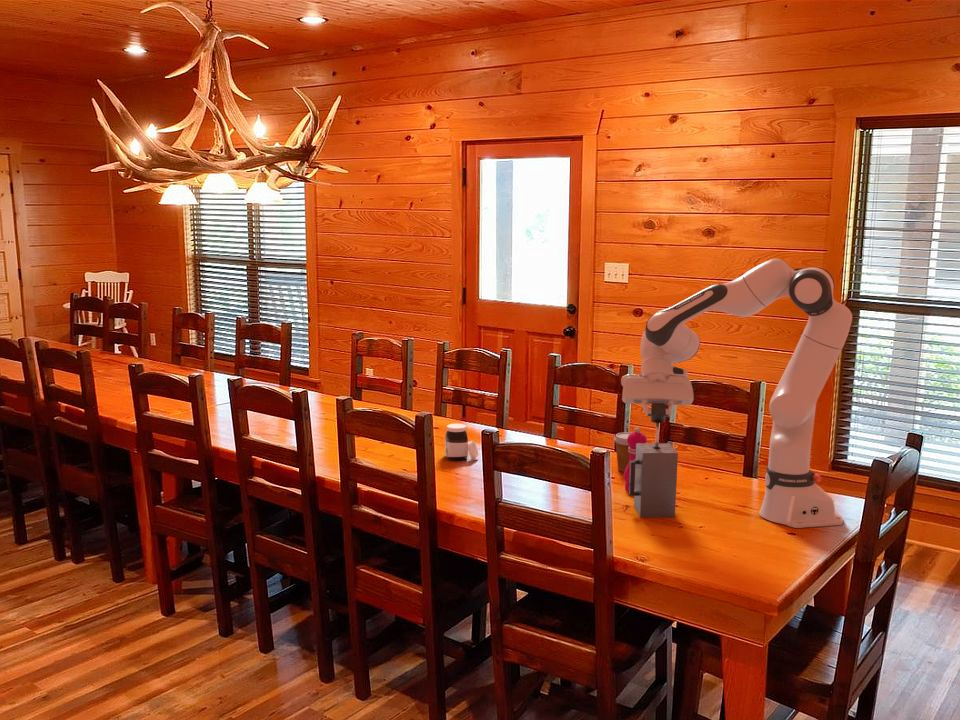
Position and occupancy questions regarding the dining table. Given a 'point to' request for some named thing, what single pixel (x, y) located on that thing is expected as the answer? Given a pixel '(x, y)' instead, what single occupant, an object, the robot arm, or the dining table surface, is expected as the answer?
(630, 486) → the tall grey box
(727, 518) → the dining table surface
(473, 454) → the spread jar
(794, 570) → the dining table surface
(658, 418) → the press plunger
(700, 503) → the dining table surface
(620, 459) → the disposable coffee cup
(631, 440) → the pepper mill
